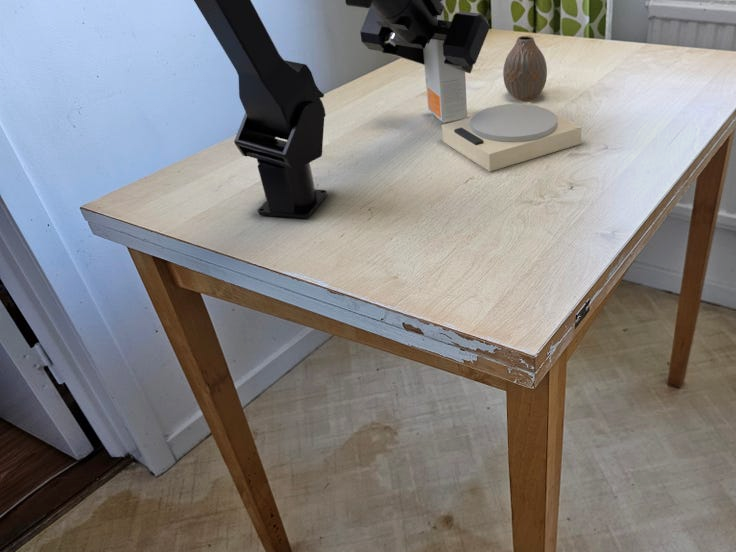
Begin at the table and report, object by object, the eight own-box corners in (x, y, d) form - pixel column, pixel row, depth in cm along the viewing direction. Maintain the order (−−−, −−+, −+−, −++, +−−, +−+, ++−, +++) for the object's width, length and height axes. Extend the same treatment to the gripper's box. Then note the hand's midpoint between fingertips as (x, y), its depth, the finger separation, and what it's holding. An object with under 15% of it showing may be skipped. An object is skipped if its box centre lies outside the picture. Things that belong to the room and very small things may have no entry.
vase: (530, 106, 104) (531, 46, 98) (495, 98, 107) (493, 40, 101) (554, 93, 108) (556, 35, 102) (519, 86, 111) (519, 29, 105)
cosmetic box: (427, 111, 102) (420, 26, 94) (452, 106, 103) (447, 22, 96) (442, 123, 98) (436, 35, 90) (468, 118, 99) (464, 31, 91)
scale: (489, 171, 86) (489, 148, 84) (442, 141, 94) (440, 119, 92) (580, 144, 92) (582, 121, 90) (528, 117, 100) (529, 96, 98)
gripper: (479, -59, 79) (525, 22, 93) (361, -67, 87) (420, 8, 101) (444, 28, 79) (496, 96, 93) (330, 12, 87) (393, 76, 101)
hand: (450, 66), depth 97 cm, fingers closed on cosmetic box, 7 cm apart
